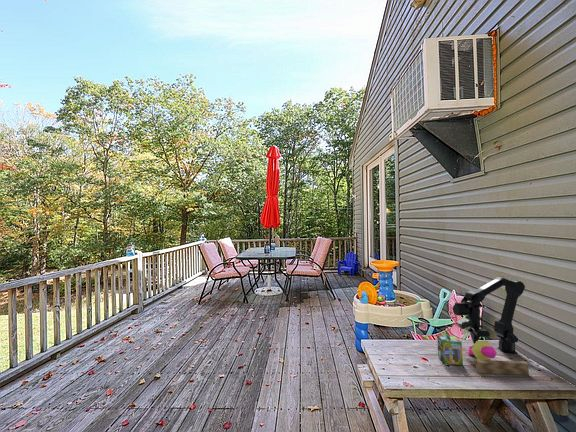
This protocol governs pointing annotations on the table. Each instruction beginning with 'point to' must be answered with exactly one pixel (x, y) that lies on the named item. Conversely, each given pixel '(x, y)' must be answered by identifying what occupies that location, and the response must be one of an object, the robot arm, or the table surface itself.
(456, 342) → the chalk box
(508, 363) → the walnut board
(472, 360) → the table surface
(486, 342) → the toy
